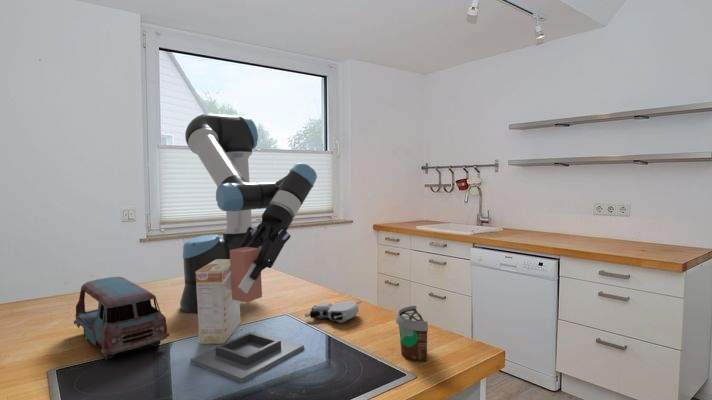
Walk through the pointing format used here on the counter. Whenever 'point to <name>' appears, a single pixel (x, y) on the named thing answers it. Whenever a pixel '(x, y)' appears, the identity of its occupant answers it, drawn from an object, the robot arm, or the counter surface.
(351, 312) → the robot toy
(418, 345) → the food container
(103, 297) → the toy van
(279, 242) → the robot arm
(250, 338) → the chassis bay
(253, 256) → the salmon pink rectangular block
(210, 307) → the coffeecake box
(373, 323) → the counter surface
